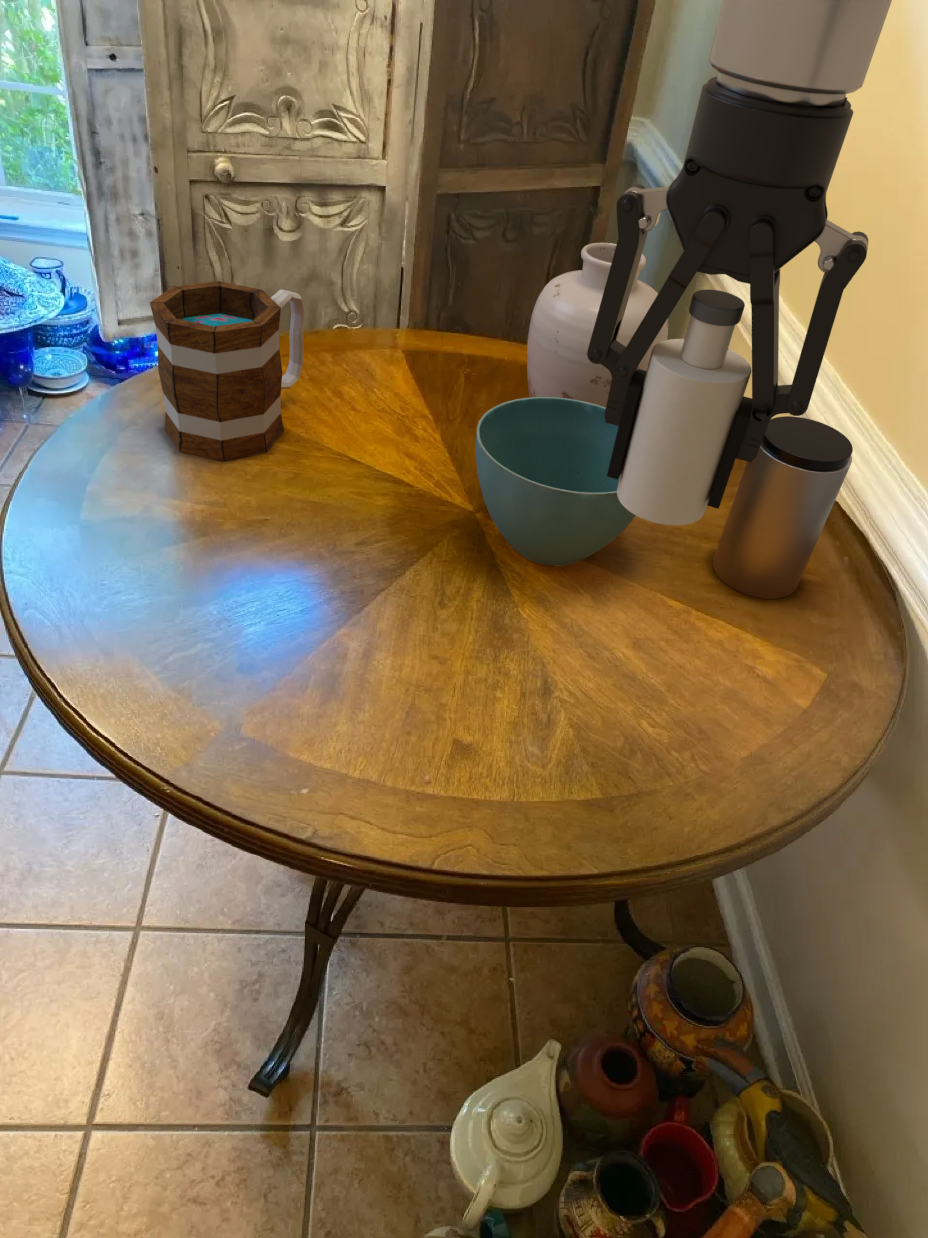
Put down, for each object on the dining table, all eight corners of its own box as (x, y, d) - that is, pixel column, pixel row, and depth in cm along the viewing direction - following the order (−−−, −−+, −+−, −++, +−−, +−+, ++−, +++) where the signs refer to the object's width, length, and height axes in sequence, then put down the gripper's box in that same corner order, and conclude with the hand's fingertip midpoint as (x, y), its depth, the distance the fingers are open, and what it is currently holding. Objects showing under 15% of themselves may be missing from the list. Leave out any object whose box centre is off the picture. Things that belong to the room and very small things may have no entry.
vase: (550, 480, 106) (588, 285, 91) (492, 415, 117) (517, 230, 102) (663, 462, 112) (715, 276, 97) (597, 402, 122) (636, 225, 108)
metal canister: (815, 581, 96) (875, 448, 86) (762, 609, 92) (819, 472, 81) (748, 537, 101) (797, 406, 91) (695, 562, 97) (740, 427, 86)
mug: (221, 474, 100) (211, 344, 90) (139, 429, 105) (121, 301, 95) (342, 414, 113) (345, 294, 103) (263, 377, 118) (259, 259, 108)
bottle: (724, 509, 61) (792, 309, 52) (664, 535, 58) (727, 328, 49) (657, 467, 64) (712, 272, 56) (598, 490, 61) (645, 288, 52)
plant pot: (595, 490, 105) (618, 392, 98) (663, 588, 93) (695, 485, 85) (444, 500, 100) (455, 398, 93) (493, 606, 88) (510, 498, 80)
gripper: (977, 109, 46) (816, 496, 61) (615, 42, 50) (546, 420, 65) (985, 137, 41) (805, 555, 56) (577, 60, 45) (512, 468, 60)
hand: (666, 482), depth 60 cm, fingers closed on bottle, 6 cm apart
